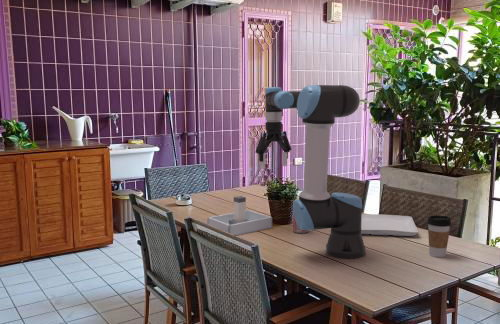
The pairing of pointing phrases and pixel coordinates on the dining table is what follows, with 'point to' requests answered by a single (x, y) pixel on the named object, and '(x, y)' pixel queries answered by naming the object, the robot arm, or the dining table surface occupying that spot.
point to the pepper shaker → (239, 209)
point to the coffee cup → (438, 235)
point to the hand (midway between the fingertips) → (273, 167)
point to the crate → (241, 223)
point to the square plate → (388, 225)
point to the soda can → (296, 228)
